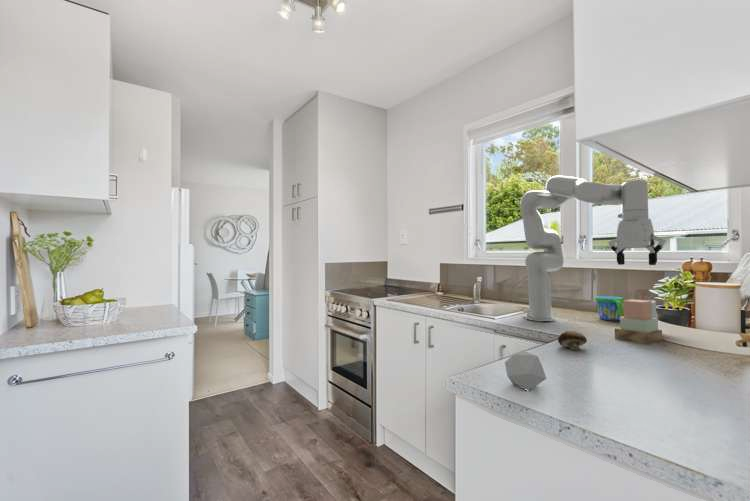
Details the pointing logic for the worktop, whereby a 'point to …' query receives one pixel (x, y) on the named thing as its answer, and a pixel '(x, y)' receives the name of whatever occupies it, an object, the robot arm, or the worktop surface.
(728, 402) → the worktop surface
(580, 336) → the mushroom
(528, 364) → the die
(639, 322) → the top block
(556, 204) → the robot arm
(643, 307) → the cube
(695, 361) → the worktop surface
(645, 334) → the bottom slab
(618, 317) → the snack cup
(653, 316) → the skincare box
